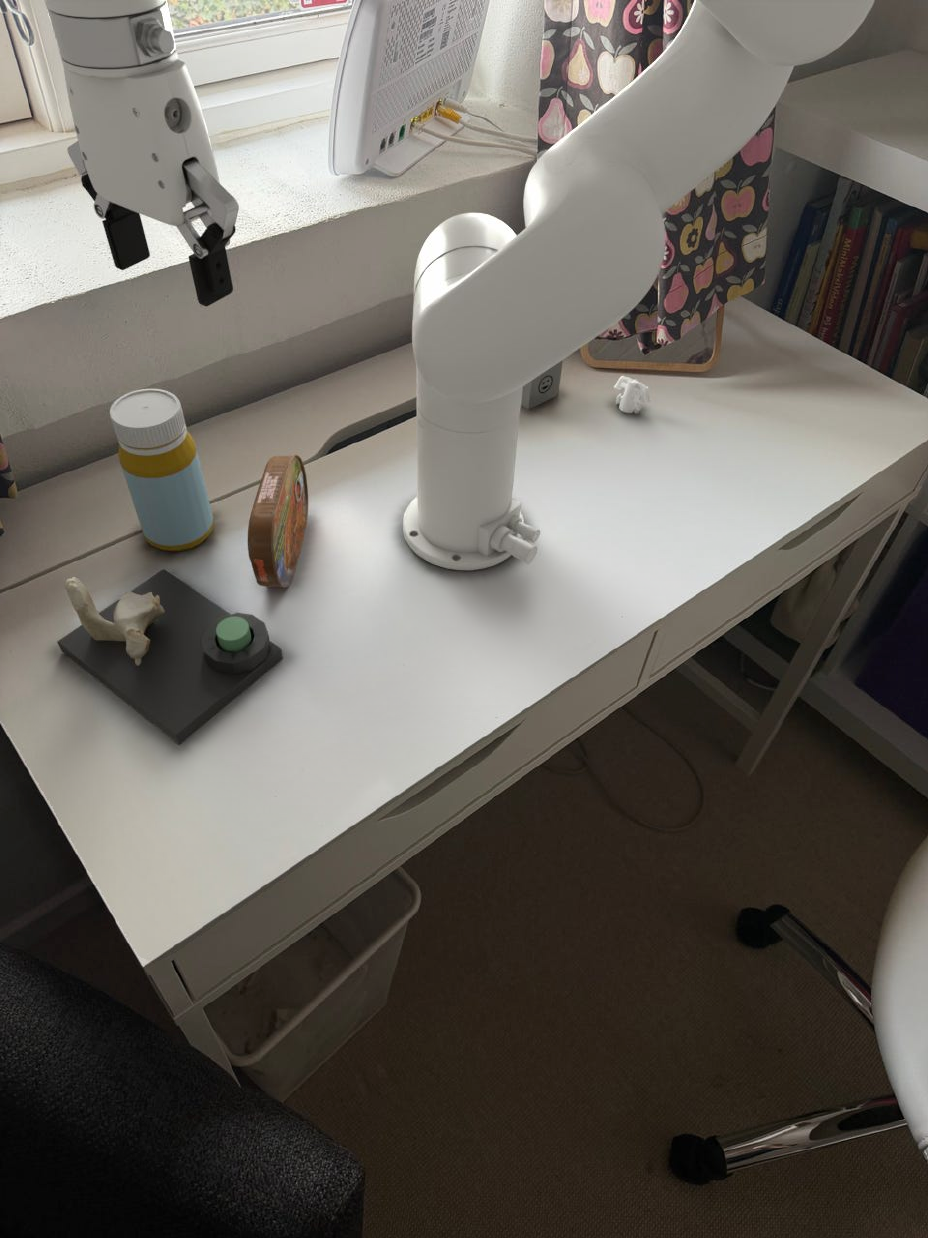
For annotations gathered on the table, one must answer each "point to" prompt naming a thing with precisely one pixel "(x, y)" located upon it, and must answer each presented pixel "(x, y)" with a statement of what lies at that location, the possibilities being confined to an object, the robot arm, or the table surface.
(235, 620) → the button
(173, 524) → the bottle
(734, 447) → the table surface
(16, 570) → the table surface
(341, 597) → the table surface
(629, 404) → the clip
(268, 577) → the tin
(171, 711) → the scale
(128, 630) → the bone
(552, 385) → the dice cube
